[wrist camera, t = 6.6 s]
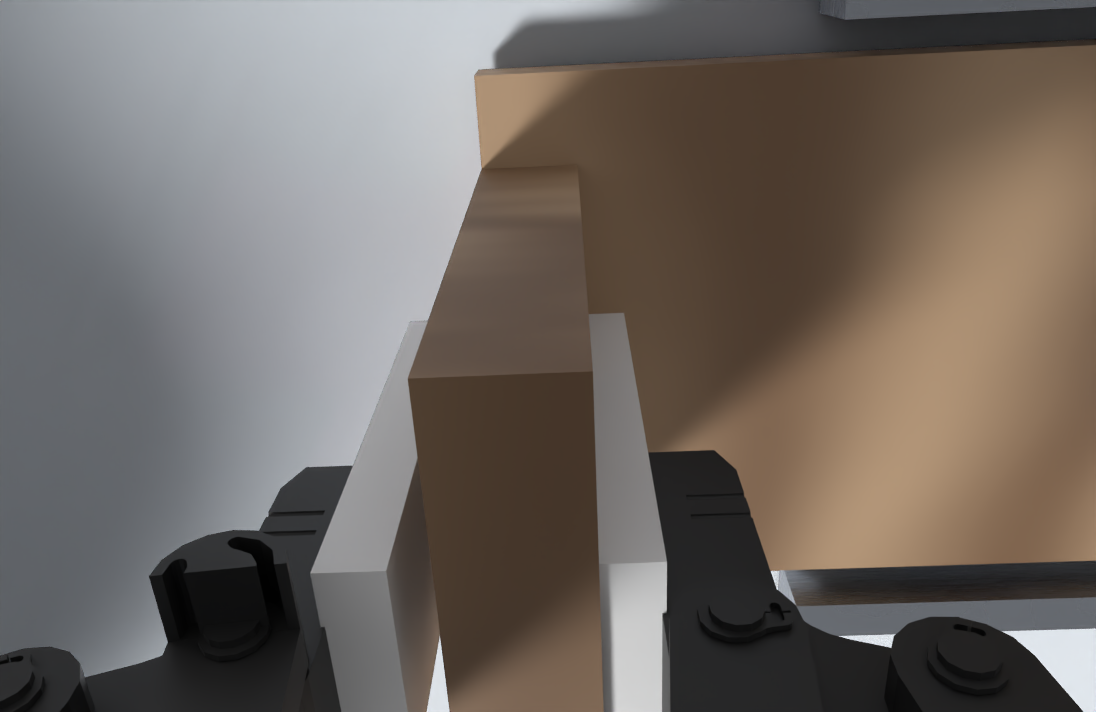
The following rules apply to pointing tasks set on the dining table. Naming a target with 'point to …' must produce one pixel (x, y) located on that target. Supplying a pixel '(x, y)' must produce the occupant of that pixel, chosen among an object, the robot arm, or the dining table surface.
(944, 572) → the lane rails
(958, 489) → the tan wooden holder
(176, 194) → the dining table surface
